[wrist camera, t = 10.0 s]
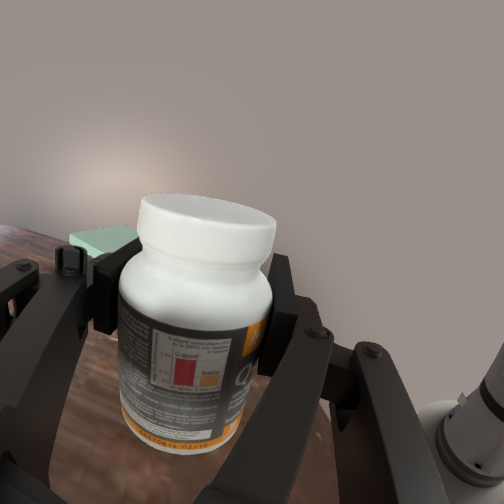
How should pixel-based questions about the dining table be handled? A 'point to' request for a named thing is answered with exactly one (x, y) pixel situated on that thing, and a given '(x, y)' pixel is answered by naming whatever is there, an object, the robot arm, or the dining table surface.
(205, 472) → the dining table surface
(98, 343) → the dining table surface
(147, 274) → the pill bottle
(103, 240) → the shelf
